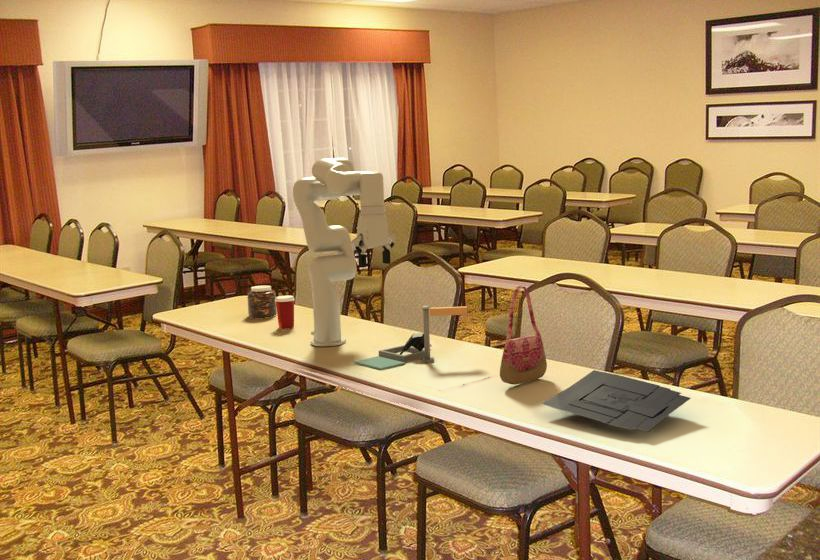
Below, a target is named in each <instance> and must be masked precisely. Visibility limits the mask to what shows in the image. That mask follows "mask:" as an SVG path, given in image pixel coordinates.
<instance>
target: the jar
mask: <svg viewBox="0 0 820 560" xmlns="http://www.w3.org/2000/svg"><path fill="white" fill-rule="evenodd" d="M276 297H277V296H276V291H275V290H272V286H271V285H255V286H251V287H250V291H248V292H247V312H248V313H247V314H248V318H249V317H252V318H251V319H254V318H263V319H266V318H265V317H270V318H272V317H271V316H274V315H276V314H277V307H276V301H275V300H276ZM276 316H277V315H276ZM274 317H275V316H274Z"/></svg>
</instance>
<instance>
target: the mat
mask: <svg viewBox="0 0 820 560" xmlns="http://www.w3.org/2000/svg"><path fill="white" fill-rule="evenodd" d="M353 363H354V364H356V365H359V366H364V367H366V368H371V369H374V370H379V371H383V370H387V369H388V370H389V369H392V368H395V367H400V366H403V365H406V362H401V361H396V360H392V359H389V358H385V357H381V356H379V355H377V356H373V357H369V358H364V359H359V360H355V361H353Z"/></svg>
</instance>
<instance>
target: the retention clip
mask: <svg viewBox="0 0 820 560" xmlns="http://www.w3.org/2000/svg"><path fill="white" fill-rule="evenodd" d="M421 309H422V310H423V309H429V317H441V316H443V317H444V316H462V318H461V319H462V322H469V321H468V306H464V305H462V306H443V307H442V306H441V307H440V306H439V307H430V305H423V306H422V305H421Z"/></svg>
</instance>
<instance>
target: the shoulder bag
mask: <svg viewBox="0 0 820 560" xmlns="http://www.w3.org/2000/svg"><path fill="white" fill-rule="evenodd" d="M521 288H522V289H523V290H524V294H525V296H526V297H525V298H526V303H527V307H528V311H529V317H530V323H531V327H532V328H533V330H534V331H535V334H528V335H524V336H520V337H515V338H512V333H513V323H514V312H515V306H516V300H517V297H518V294H519V292H520V290H521ZM533 310H534V309H533V305H532V300H531V296H530V292H529V290H528V288H527V287H526V286H521V285H518V286H517V287H516V288H515V290H514V292H513V295H512V297H511V300H510V307H509V316H508V326H507V327H508V328H507V333H506V339H505V343H504V348H503V351H502V356H501V362H500V369H499V377H500V378H499V379H501V381H502V382H503V383H505V384H509V385H521V384H524V383H526V384H527V383H529V382H532V381H536V380H539V379H540V378H543V376H544V375H545V373H546V371H547V367H548V363H547V357H546V353H545V348H544V343H543V340H542V335H541V332H540V331H539V329H538V326H537V323H536V320H535V315H534V311H533Z"/></svg>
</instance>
